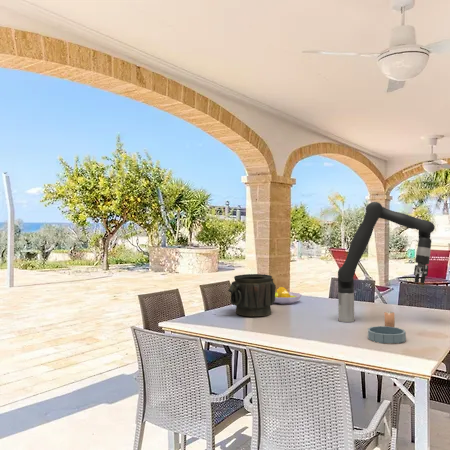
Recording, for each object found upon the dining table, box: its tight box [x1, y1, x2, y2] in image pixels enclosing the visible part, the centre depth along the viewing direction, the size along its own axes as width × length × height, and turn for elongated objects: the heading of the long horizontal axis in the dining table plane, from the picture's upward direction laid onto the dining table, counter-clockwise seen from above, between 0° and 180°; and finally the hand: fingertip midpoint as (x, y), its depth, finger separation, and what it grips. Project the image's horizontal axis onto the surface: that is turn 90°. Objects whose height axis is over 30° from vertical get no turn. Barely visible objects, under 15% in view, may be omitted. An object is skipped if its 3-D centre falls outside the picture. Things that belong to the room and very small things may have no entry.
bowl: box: [367, 325, 407, 344], centre depth 233 cm, size 18×18×4 cm
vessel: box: [227, 273, 277, 317], centre depth 300 cm, size 31×32×25 cm
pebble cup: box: [383, 311, 396, 327], centre depth 249 cm, size 5×5×10 cm
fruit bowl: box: [273, 286, 302, 305], centre depth 340 cm, size 28×27×11 cm
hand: (419, 283), depth 263 cm, fingers open, 8 cm apart
